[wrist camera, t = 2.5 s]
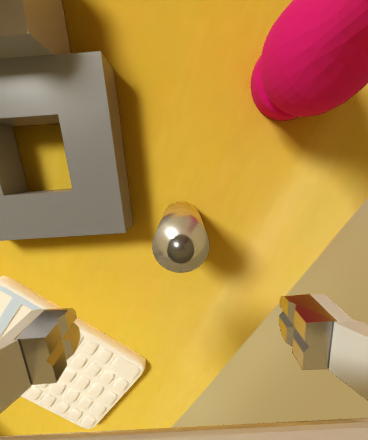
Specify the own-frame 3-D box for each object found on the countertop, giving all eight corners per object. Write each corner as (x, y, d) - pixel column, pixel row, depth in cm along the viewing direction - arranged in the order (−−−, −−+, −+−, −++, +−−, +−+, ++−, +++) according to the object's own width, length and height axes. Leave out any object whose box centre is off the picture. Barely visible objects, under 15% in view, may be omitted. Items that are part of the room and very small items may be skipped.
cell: (160, 203, 21) (147, 223, 14) (200, 200, 21) (209, 220, 13) (164, 240, 22) (153, 280, 14) (201, 238, 22) (211, 276, 14)
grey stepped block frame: (-73, -18, 17) (-191, -103, 12) (100, -32, 17) (62, -126, 11) (-1, 232, 22) (-60, 253, 17) (133, 224, 22) (117, 242, 16)
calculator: (95, 418, 29) (89, 435, 27) (-43, 346, 26) (-60, 360, 24) (150, 356, 27) (148, 371, 25) (4, 269, 24) (-11, 277, 22)
